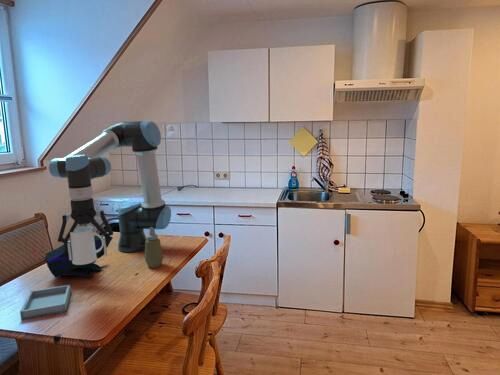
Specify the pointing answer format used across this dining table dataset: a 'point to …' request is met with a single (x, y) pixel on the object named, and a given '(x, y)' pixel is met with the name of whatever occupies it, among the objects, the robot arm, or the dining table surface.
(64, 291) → the slate tray
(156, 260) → the squeeze bottle
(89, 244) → the mug
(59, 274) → the decorative plant
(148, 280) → the dining table surface
